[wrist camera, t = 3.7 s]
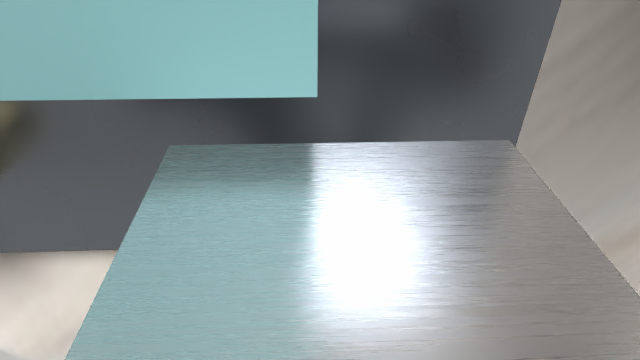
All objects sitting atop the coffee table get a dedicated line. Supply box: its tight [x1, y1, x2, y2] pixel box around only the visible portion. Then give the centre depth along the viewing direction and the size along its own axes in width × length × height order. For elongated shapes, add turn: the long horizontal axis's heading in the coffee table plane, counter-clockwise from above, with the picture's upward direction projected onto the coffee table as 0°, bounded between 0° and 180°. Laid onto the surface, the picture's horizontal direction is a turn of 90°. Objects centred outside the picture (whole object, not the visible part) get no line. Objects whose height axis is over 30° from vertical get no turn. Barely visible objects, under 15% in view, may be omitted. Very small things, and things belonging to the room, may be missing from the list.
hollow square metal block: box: [65, 140, 640, 360], centre depth 7 cm, size 6×6×4 cm
